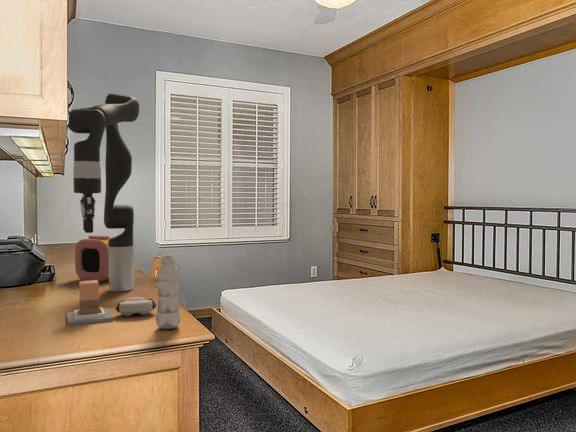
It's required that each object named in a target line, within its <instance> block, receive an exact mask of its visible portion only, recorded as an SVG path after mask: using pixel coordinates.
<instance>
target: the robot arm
mask: <svg viewBox="0 0 576 432" xmlns="http://www.w3.org/2000/svg"><path fill="white" fill-rule="evenodd" d="M68 113H69V115H70V117H69V125H68V126H67V128H68V129H69V130H70V131H71V132H72V133H76V134H89V135H88V136H87V138H86V139H84V140H81V141H77V142H75V143H74V146H73V161H74V162H73V171H72V172H73V180H72V181H73V193H74V194H82V197H81V199H79V200H80V201H79V202H80V203H79V204H80V211H81V217H82V225H83V226H82V227H83V228H82V230H83V231H84V233H86V234H92V233H94V220H95V216H96V215H95V213H96V199H95V198H94V196H93V195H94V194H101V192H102V170H101V154H100V153H101V150H100V149H101V145H102V139H103V136H104V132H105V134H106V135H105V138H106V139H105V141H106V142H105V145H106V146H105V148H106V149H105V164H104V165H105V197H104V208H103V209H104V210H103V223H104V227H105V228H106V229H109V230H110V229H111V230H112V229H115V230H117V229H123V230H124V231H122V232H121V233H120V234H117V236H112V237H109V238H110V239H109V241H108V252H109V279H108V291H110V292H127V291H133V290H134V287H135V285H134V284H135V281H134V280H135V279H134V278H135V276H134V274H135V273H134V272H135V271H134V270H135V269H134V267H135V265H134V224H135V223H134V221H135V218H134V217H135V213H134V212H135V211H134V208H133V206H132V205H130V204H115V201H116V198H117V196H118V194H119V192H121V190H122V189H123V188H124V186H125V184H126V183H127V182H128V180H129V179H130V177H131V175H132V167H133V166H132V164H133V163H132V162H133V158H132V157H133V156H132V154H131V152H130V150H129V147H128V146H127V144H126V142H125V140H124V139H123V137H122V135H121V133H120V129H119V124H118V123H124V122H125V123H132V122H135V121H136V120H137V119H138V118H139V115H140V103H139V101H138V99H137V98H136V97H134V96H131V95H125V94H118V93H108V94H107V96H106V97H105V102H104V103H101V104H98V105H97V104H96V105H93V106H91V107H82V108H81V107H80V108H74V109H72V110H70V111H69V112H68Z"/></svg>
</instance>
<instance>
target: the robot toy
mask: <svg viewBox="0 0 576 432" xmlns="http://www.w3.org/2000/svg"><path fill="white" fill-rule="evenodd" d="M156 307H158V302H155V299H152V298H148V299H145V298H144V297H143V296H135V297H133V296H132V297H130V298H128V300H124V299H123V300H120V301H118V304H117V305H114V309H115V310H116V311H117V312H118V313H119V314H122V315H123V316H125V317H130V316H132V315H134V314H140V315H141V316H146V314H147V315H148V314H150V312H152V311H153V310H155V309H156Z"/></svg>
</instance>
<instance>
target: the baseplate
mask: <svg viewBox="0 0 576 432" xmlns="http://www.w3.org/2000/svg"><path fill="white" fill-rule="evenodd" d="M66 318H67V319H66V320H67V321H66V322H67V327H71V326H79V325H86V324H87V325H88V324H95V323H104V322H113V321H114V317H113V315H112V313H111V310H110V308H103V307H99V313H98V314H88V315H80V309H74V311H71V312H66Z"/></svg>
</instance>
